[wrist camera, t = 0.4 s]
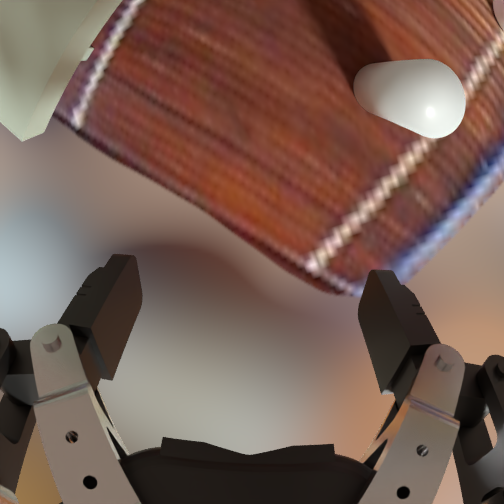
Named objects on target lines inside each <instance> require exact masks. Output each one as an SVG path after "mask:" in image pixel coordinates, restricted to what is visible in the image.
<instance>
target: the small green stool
mask: <svg viewBox="0 0 504 504" xmlns="http://www.w3.org/2000/svg"><path fill="white" fill-rule="evenodd" d="M121 2H122V0H0V122H1V123H2V124H3V125H4V126H5V127H6V128H7V129H8V130H10V131H11V132H12V133H13V134H14V135H15V136H16V137H17V138H19V139H20V140H21V141H24V140H26V139H29V138H32V137H34V136H36V135H39V134H41V133H44V131H45V129H46V127H47V124H48V122H49V120H50V118H51V116H52V114H53V112H54V110H55V107H56V105H57V103H58V101H59V99H60V97H61V95H62V94H63V92H64V90H65V88H66V86H67V84H68V82H69V80H70V79H71V77H72V75H73V73H74V72H75V70H76V68H77V66H78V65H79V63H80V61H86V60H87V59H88V57H89V56H90V54H91V53H92V51H93V49H94V48H93V47H91V46H90V45H91V44H92V42H93V41H94V39H95V38H96V36H97V35H98V33H99V32H100V30H101V29H102V27H103V26H104V24H105V23H106V22H107V20H108V19H109V17H110V16H111V15H112V13H113V12H114V11H115V9H116V8H117V7H118V5H119V4H120V3H121Z"/></svg>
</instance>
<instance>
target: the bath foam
mask: <svg viewBox="0 0 504 504" xmlns="http://www.w3.org/2000/svg"><path fill="white" fill-rule="evenodd" d="M493 9H494V13H495V16H496V19H497V21H498V23H499V25H500V27H501V28H502V30H503V31H504V0H493Z"/></svg>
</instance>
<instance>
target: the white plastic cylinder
mask: <svg viewBox="0 0 504 504" xmlns="http://www.w3.org/2000/svg"><path fill="white" fill-rule="evenodd" d="M353 90H354V95H355V98H356V100H357V101H358V103H359V104H360V106H361V107H362V108H363V109H365V110H366V111H368V112H369V113H372V114H374V115H377V116H379V117H382V118H384V119H386V120H389V121H391V122H393V123H396V124H398V125H400V126H403V127H405V128H407V129H409V130H412V131H414V132H416V133H418V134H420V135H422V136H425V137H429V138H441V137H444V136H447V135H449V134H450V133H452V132H453V131H454V130H455V129H456V128H457V127H458V126H459V124H460V123H461V121H462V119H463V116H464V112H465V94H464V89H463V87H462V84H461V82H460V80H459V78H458V77H457V75H456V74H455V73H454V72H453V71H452V70H451V69H450V68H449V67H448V66H447V65H445V64H443V63H441V62H439V61H436V60H433V59H416V60H402V61H390V62H380V63H372V64H368V65H366V66H364V67H363V68H361V69H360V70H359V71H358V73H357V74H356V76H355V79H354V83H353Z"/></svg>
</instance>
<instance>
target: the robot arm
mask: <svg viewBox="0 0 504 504" xmlns="http://www.w3.org/2000/svg"><path fill="white" fill-rule="evenodd" d="M141 305H142V288H141V282H140V277H139V271H138V265H137V260H136V257H135V256H134V255H123V254H113V255H112V256H111V258H110V259H109V261H108V262H107V264H106V265H105V267H99V268H98V269H96V270H95V271H94V272H92V273H91V274H90V275H89V276H88V277H87V278H86V280H85V281H84V283H83V284H82V287H80V289H79V290H78V292H77V295H75V296H74V298H73V299H72V301H71V302H70V304H69V306H68V307H67V309H66V310H65V312H64V313H63V315H62V317H61V319H60V320H59V321H58V323H57V324H50V325H47V326H44V327H43V328H41V329H39V330H38V331H37V332H36V333H35V334H34V336H33V337H32V339H31V340H19V341H12V340H11V338H10V336H9V335H8V333H7V332H6V330H4V329H1V328H0V389H1V390H2V391H3V393H4V395H3V397H2V400H1V402H0V504H19V502H18V500H17V498H16V496H15V491H16V487H17V483H18V479H19V475H20V471H21V468H22V464H23V461H24V457H25V454H26V451H27V447H28V444H29V441H30V438H31V435H32V432H33V429H34V426H35V423H36V421H37V425H38V429H39V433H40V436H41V440H42V443H43V447H44V450H45V454H46V456H47V460H48V463H49V466H50V469H51V472H52V475H53V478H54V481H55V483H56V486H57V489H58V491H59V493H60V496H61V499H62V502H61V503H60V504H432V503H433V500H434V498H435V496H436V493H437V491H438V489H439V486H440V484H441V481H442V478H443V475H444V473H445V470H446V467H447V465H448V462H449V459H450V456H451V452H452V451H453V455H454V459H455V463H456V468H457V472H458V477H459V482H460V487H461V492H462V497H463V503H464V504H504V357H502V356H499V355H491V356H489V357H488V358H487V360H486V361H485V362H484V364H483V365H482V366H480V365H475V364H470V363H465V362H464V360H463V358H462V356H461V355H460V354H459V352H458V351H456V350H455V349H454V348H452V347H450V346H448V345H445V344H441V343H440V341H439V339H438V337H437V335H436V333H435V331H434V329H433V327H432V326H431V323H430V322H429V320H428V318H427V316H426V315H425V312H424V311H423V309H422V307H420V303H419V302H418V300H417V298H416V296H415V294H414V293H412V292H411V291H410V290H409V289H408V288H407V287H406V286H405V285H401V284H400V282H399V281H398V279H397V277H396V275H395V274H394V272H393V271H391V270H371V271H370V272H369V275H368V278H367V281H366V284H365V287H364V290H363V294H362V297H361V300H360V303H359V308H358V320H359V323H360V326H361V329H362V332H363V336H364V339H365V342H366V345H367V348H368V351H369V354H370V358H371V360H372V364H373V368H374V371H375V374H376V378H377V381H378V384H379V388H380V391H381V394H382V395H383V394H392V393H394V396H395V400H394V401H393V403H392V405H391V407H390V409H389V411H388V413H387V415H386V417H385V419H384V421H383V423H382V424H381V426H380V429H379V430H378V432H377V434H376V436H375V437H374V439H373V441H372V443H371V445H370V446H369V448H368V449H367V451H366V452H365V453H364V455H363V456H362V458H361V459H360V460H359V461H357V460H354V459H352V458H349V457H346V456H342V455H337V454H335V451H334V444H323V445H304V446H290V447H286V448H282V449H277V450H273V451H268V452H263V453H259V454H253V455H245V454H241V453H238V452H234V451H231V450H227V449H224V448H221V447H217V446H214V445H211V444H208V443H205V442H197V441H188V440H180V439H173V438H166V437H163V439H162V444H161V447H155V448H149V449H145V450H141V451H138V452H135V453H133V454H129V452H128V450H127V448H126V447H125V445H124V443H123V442H122V440H121V438H120V436H119V434H118V432H117V430H116V428H115V426H114V424H113V422H112V419H111V417H110V415H109V412H108V410H107V408H106V405H105V403H104V401H103V398H102V396H101V393H100V391H99V389H98V387H97V386H98V384H99V381H100V379H101V378H102V379H107V380H113V378H114V375H115V372H116V369H117V367H118V364H119V361H120V359H121V356H122V354H123V351H124V348H125V346H126V343H127V341H128V338H129V336H130V333H131V331H132V328H133V326H134V323H135V321H136V318H137V316H138V314H139V311H140V309H141ZM489 413H490V415H491V418H492V420H493V423H494V426H495V429H496V432H497V443H496V446H495V447H494V448H493V447H492V443H491V440H490V437H489V434H488V431H487V428H486V425H485V422H484V418H485V417H486V416H487V415H488V414H489Z"/></svg>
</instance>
